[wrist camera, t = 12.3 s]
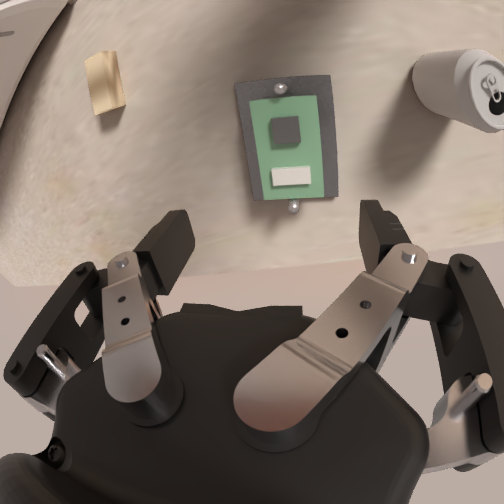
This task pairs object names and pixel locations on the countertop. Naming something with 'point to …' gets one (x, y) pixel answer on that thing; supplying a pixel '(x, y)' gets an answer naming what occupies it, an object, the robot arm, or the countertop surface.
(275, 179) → the board
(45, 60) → the countertop surface
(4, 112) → the toaster
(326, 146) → the chassis
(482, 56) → the can
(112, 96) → the beige wooden block
